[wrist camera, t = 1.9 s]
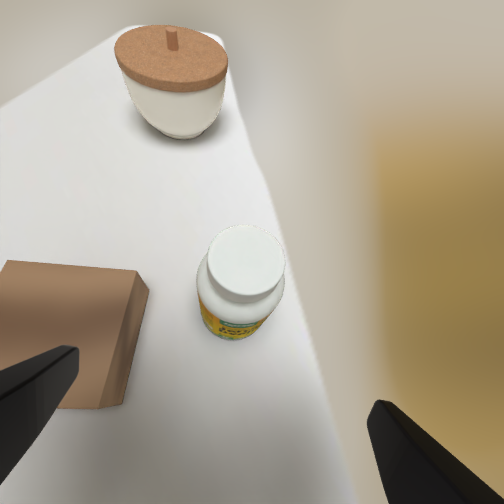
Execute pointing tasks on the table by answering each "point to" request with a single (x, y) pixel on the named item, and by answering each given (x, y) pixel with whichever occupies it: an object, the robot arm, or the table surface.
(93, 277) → the walnut block
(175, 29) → the lidded jar
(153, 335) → the table surface
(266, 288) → the supplement bottle
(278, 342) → the table surface
